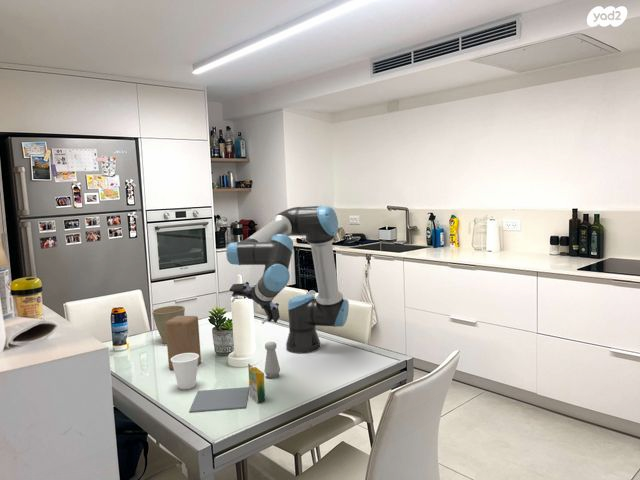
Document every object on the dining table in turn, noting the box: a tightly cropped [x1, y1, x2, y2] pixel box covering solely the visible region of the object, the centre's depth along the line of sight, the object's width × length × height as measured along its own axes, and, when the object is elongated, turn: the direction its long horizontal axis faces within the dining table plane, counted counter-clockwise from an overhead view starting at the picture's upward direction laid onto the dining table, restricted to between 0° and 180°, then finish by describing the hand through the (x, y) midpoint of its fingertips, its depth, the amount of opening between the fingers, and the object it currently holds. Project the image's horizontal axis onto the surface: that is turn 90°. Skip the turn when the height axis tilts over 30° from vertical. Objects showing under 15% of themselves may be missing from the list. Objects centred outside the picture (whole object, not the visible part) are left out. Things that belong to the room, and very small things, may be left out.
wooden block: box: [166, 315, 202, 370], centre depth 196 cm, size 10×10×20 cm
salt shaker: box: [263, 341, 281, 379], centre depth 181 cm, size 6×6×13 cm
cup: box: [171, 353, 199, 390], centre depth 175 cm, size 10×10×11 cm
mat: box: [188, 386, 250, 413], centre depth 162 cm, size 18×16×1 cm
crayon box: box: [247, 363, 266, 404], centre depth 161 cm, size 7×3×12 cm, turn 29°
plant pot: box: [151, 305, 186, 345], centre depth 231 cm, size 15×15×16 cm
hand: (249, 310), depth 177 cm, fingers open, 13 cm apart
